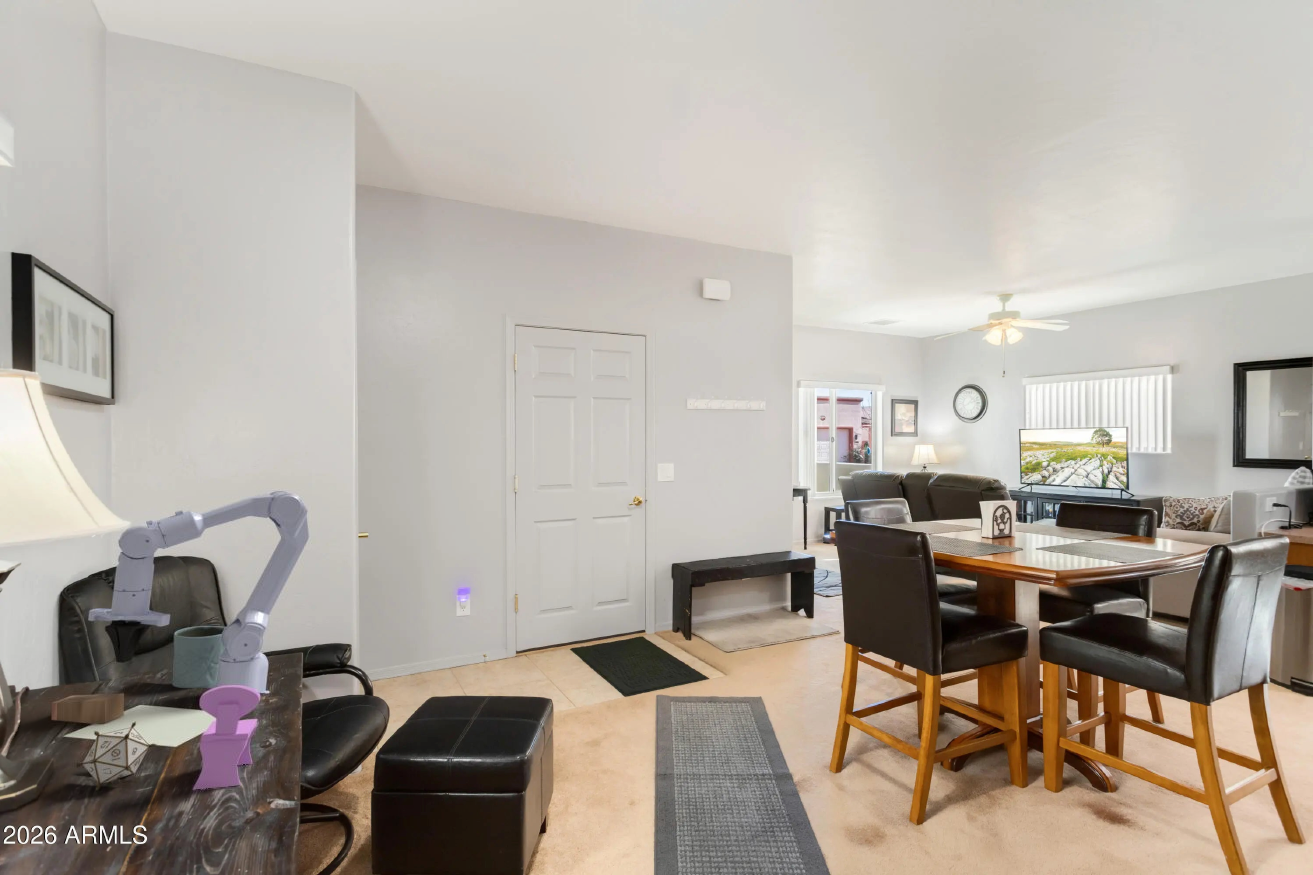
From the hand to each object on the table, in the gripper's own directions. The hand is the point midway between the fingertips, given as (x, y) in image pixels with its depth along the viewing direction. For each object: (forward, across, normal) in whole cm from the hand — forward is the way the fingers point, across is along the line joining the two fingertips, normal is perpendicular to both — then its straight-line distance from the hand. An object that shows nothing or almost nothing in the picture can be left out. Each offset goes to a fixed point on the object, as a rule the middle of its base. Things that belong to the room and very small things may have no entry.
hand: (124, 661), depth 125 cm
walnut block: (+7, +3, -4) cm, 9 cm away
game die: (+11, +20, -23) cm, 32 cm away
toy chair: (+11, +34, -18) cm, 40 cm away
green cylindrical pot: (+11, +1, +19) cm, 22 cm away
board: (+10, +11, -4) cm, 16 cm away
